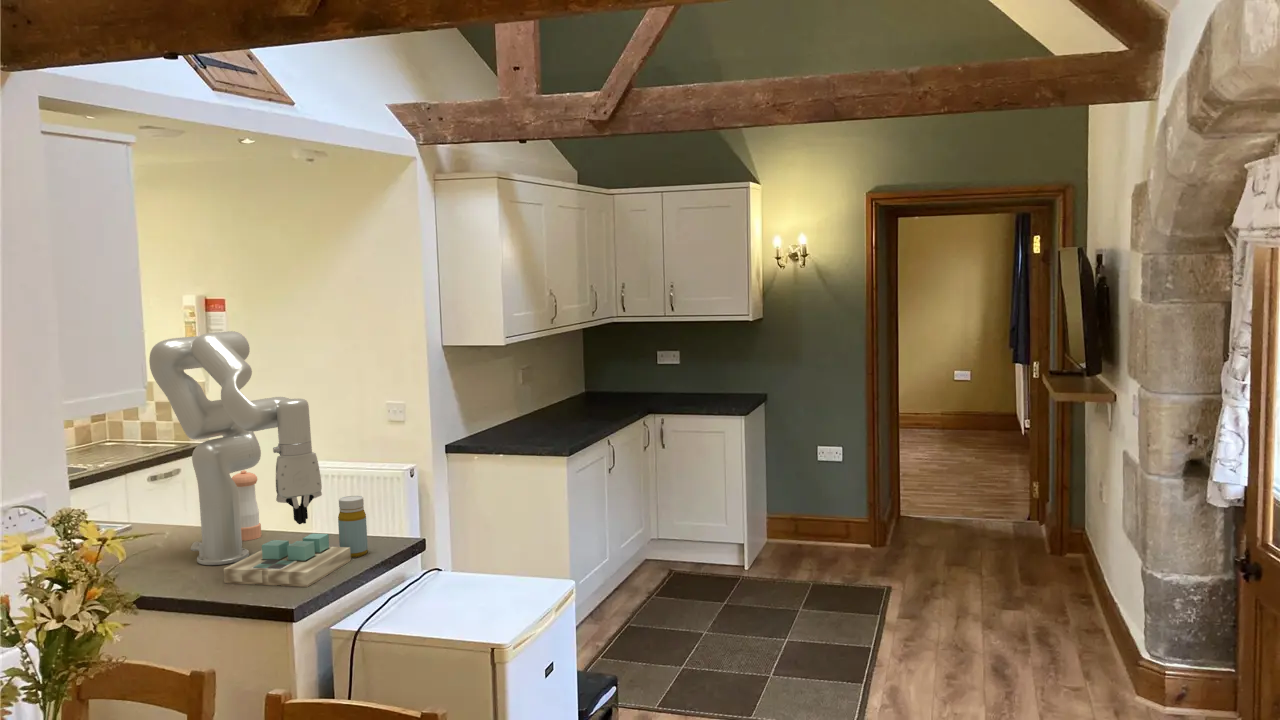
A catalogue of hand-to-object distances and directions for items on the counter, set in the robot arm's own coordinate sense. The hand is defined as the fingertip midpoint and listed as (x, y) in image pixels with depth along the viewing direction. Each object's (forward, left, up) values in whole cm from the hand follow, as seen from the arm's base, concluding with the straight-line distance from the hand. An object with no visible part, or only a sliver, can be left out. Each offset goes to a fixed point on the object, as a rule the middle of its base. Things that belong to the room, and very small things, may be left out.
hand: (301, 522), depth 246 cm
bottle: (+5, +16, -13) cm, 21 cm away
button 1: (-8, 0, -9) cm, 12 cm away
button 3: (-1, 0, -9) cm, 9 cm away
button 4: (-1, +7, -9) cm, 11 cm away
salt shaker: (-34, +28, -13) cm, 46 cm away
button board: (-4, 0, -13) cm, 13 cm away
